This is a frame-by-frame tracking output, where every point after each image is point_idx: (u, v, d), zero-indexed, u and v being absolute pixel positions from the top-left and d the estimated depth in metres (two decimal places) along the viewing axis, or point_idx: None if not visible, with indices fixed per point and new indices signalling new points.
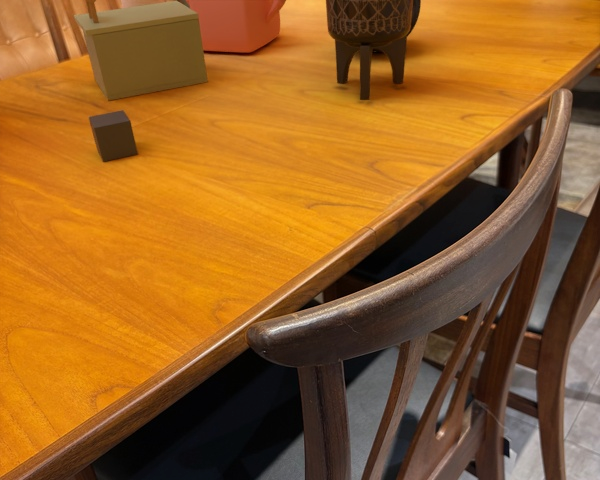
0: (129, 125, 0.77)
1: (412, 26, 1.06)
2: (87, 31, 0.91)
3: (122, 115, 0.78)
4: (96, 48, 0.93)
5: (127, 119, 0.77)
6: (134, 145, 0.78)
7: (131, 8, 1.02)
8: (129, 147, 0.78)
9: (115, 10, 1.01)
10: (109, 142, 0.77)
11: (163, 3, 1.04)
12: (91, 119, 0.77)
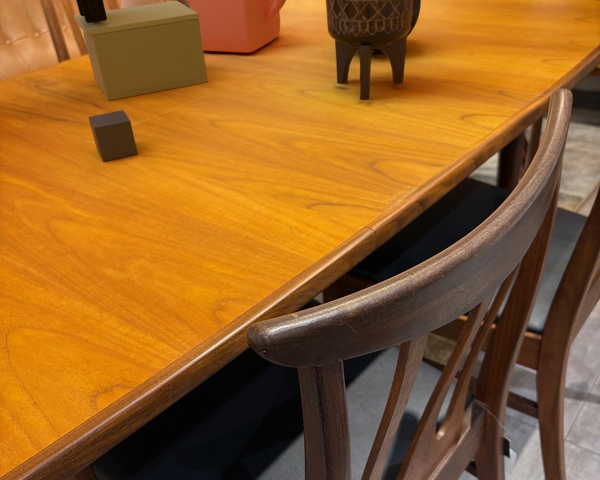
0: (129, 125, 0.77)
1: (412, 26, 1.06)
2: (87, 31, 0.91)
3: (122, 115, 0.78)
4: (96, 48, 0.93)
5: (127, 119, 0.77)
6: (134, 145, 0.78)
7: (131, 8, 1.02)
8: (129, 147, 0.78)
9: (115, 10, 1.01)
10: (109, 142, 0.77)
11: (163, 3, 1.04)
12: (91, 119, 0.77)
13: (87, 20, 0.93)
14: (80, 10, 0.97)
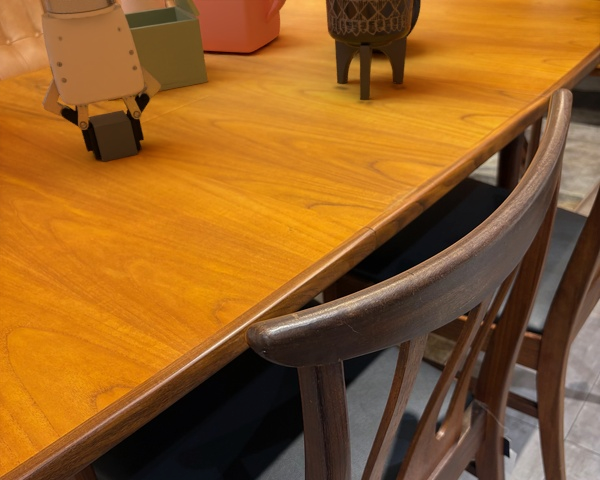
0: (129, 125, 0.77)
1: (412, 26, 1.06)
2: None
3: (122, 115, 0.78)
4: None
5: (127, 119, 0.77)
6: (134, 145, 0.78)
7: None
8: (129, 147, 0.78)
9: None
10: (109, 142, 0.77)
11: None
12: (91, 119, 0.77)
13: None
14: None
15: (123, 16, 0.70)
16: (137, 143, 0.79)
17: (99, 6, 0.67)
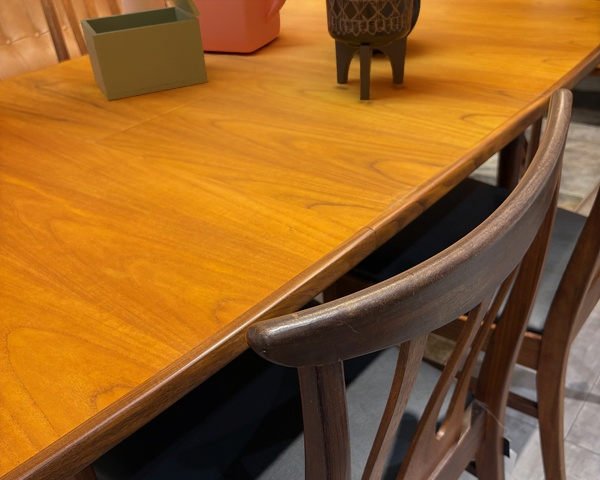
0: None
1: (412, 26, 1.06)
2: None
3: None
4: (96, 48, 0.93)
5: None
6: None
7: None
8: None
9: None
10: None
11: None
12: None
13: None
14: None
15: None
16: None
17: None
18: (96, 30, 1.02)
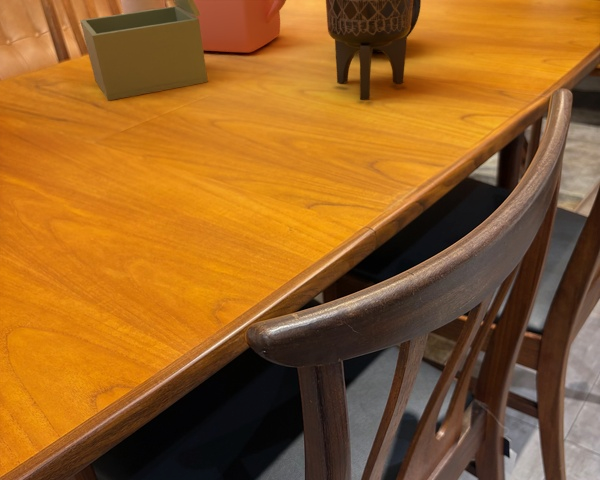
0: None
1: (412, 26, 1.06)
2: None
3: None
4: (96, 48, 0.93)
5: None
6: None
7: None
8: None
9: None
10: None
11: None
12: None
13: None
14: None
15: None
16: None
17: None
18: (96, 30, 1.02)
